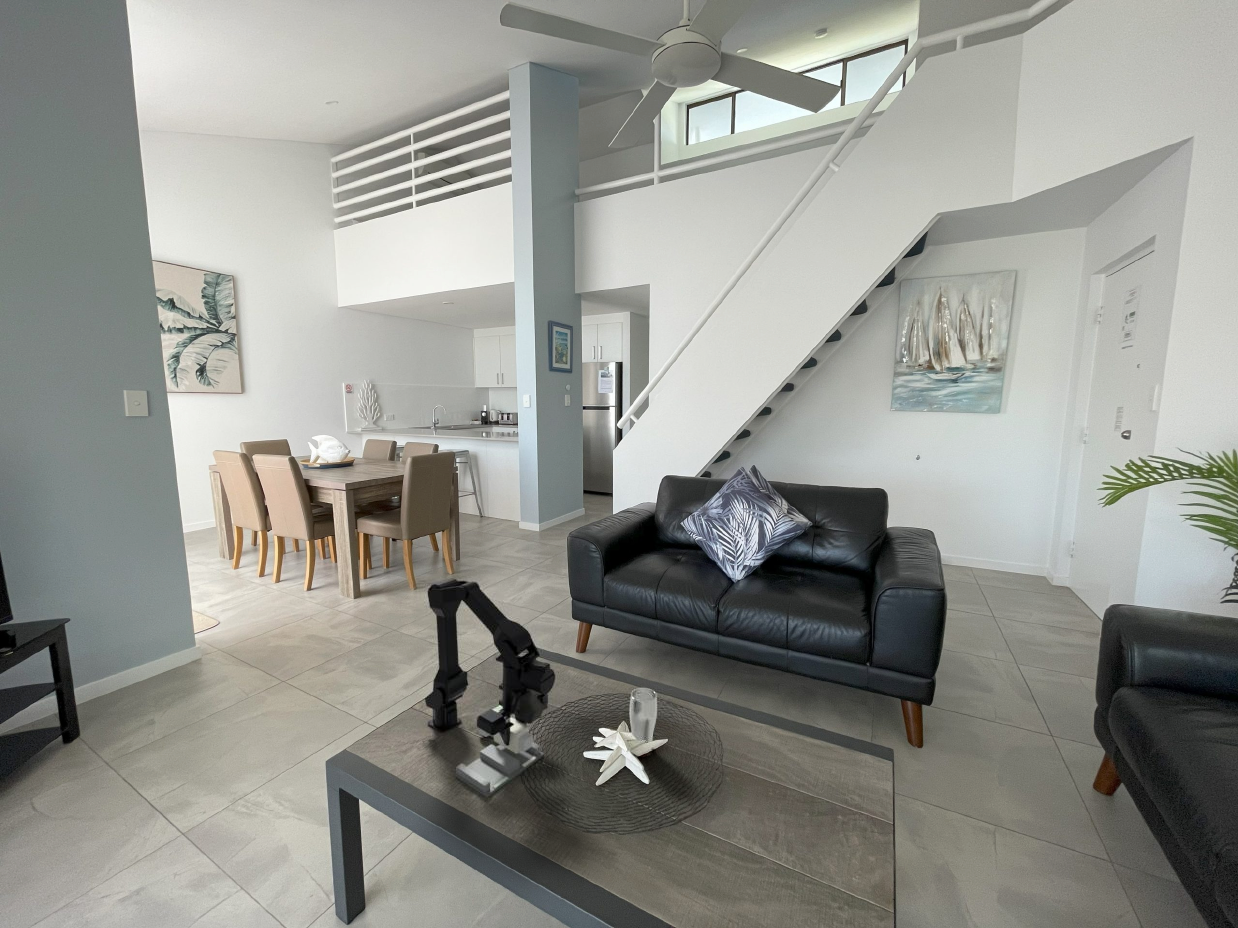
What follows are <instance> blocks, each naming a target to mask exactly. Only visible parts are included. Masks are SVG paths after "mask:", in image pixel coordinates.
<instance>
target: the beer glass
mask: <svg viewBox="0 0 1238 928" xmlns="http://www.w3.org/2000/svg"><path fill="white" fill-rule="evenodd" d="M629 700H630V701H629V724H630V731H631V736H632V735H633V736H634V737H635V738H636V739H637V740H641V741H642V740H646V741H647V742H653V734H654V730H655V727H656V726H655V725H656V723H657V722H656V721H657V717H658V694H657V692H656V691H654V690H653V689H651V688H649V687H648V688H647V687H638V688H635V689H633V690H631V693H630V699H629ZM646 741H645V742H646Z"/></svg>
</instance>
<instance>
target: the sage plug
mask: <svg viewBox="0 0 1238 928" xmlns="http://www.w3.org/2000/svg"><path fill="white" fill-rule="evenodd" d="M491 709H492V710H494V711H496V712H499V710H501V709H502V706H500V705H499V704H498V706H496V707H494V708H491ZM511 717H512V718H514V719H515V714H513V715H511ZM478 734H480V735H481V736H483V737H485V738H487V737H492V738H493V739H494V735H490V734H488V733H487V732H485V731H483V730H482V729H480V728H478Z"/></svg>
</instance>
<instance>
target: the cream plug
mask: <svg viewBox="0 0 1238 928" xmlns="http://www.w3.org/2000/svg"><path fill="white" fill-rule="evenodd" d="M510 722H511V723H513V724H514V725H513V726H512V727H511V728H510V742H509V745H508V746H507V745H505V744H504V742H503V739H502V737H501V735H500V733H497V734H496V735H494V738H493V741H494V742H495V743H497V744H499V745H502V746H504V747H506V748H507V749H509V750H511V751H512V752H514V753H516V754H517V753H518V752H520V751H521V750H522V751H524V752H525V751H526V750H527V749H529V748H530V747H532V746H533V742H534V740H533V737H534V735H533V734H531V733H529V730H530V729H529V728H530V727H529V726H528V725H527V724H526V725H525V724H523V723H521V722H519V721H517V720H516V719H514V718H512V717H511V718H510Z"/></svg>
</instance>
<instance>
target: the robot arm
mask: <svg viewBox="0 0 1238 928" xmlns="http://www.w3.org/2000/svg"><path fill="white" fill-rule="evenodd" d="M480 587H481V586H480V585H479V583H478V582H477V581H468V580H457V578H454V577H452V578H451V577H450V578H448V579H444V580H442V581H439V582H436V583H432V584H431V585H430V586H429V588H428V589H427V599H428V605H429V608H430V610H431V611H432V612H433V613H434V615H435V617H436V634H437V651H438V652H437V653H438V669H437V672H436V674H435V676H434V679H433V685H432V686H433V687H432V691H431V692H430V693H429V694H428V695H427V696H425V698H424V701H425V706H426V707H427V708H429V709H432V718H431V719H430V720H428V721H427V725H428V726H430V727H431V728H433V729H435V730H436V731H439V733H440V734H441V733H444V732H447V731H448V730H450V729H451V728H454V727H455V726H457V725H459V724H460V723H462V719H461V718H459V717H458V703H457V700H459V699H460V698H463V696H464V693H465V692H467V689H468V686H469V685H470V684H469V682H468V672H467V671H466V670H463V669H462V666H460V663H459V648H458V647H459V644H458V626H457V624H458V623H457V612H458V609H459V607H460V605H461V603H462V602H463V603H464V604H465V605H466V606H467V607H468V609H469V610H471V612H472V613H473V614H474V615H475V616H476V617H477V618H478V619H479V621H480V622H481V623H482V624H483V625H484V627H485V628H486V629H487V630H488V631H489V632H490V633H491V635H492V639H493V643H494V644H493V645H494V646H495V647H496V649H497V651H498V652H499V653H500V655H498V656H497V657H495V661H496V662H499V663H501V664H502V682H501V683H500V684H498V689H499V690H500V691H502V692H501V693H502V697H501V699H499V700H498V706H499V705H500V706H502V709H501V710H499V712H496V711H494V710H492V709H493V708H490V709H488V710H487V711H485V712H483V713H481V714H479V715H478V716H477V717H476V727H477V728H478V729H479V728H480V729H482V730H483V731H485V732H487V733H488V734H490V735H496V734H497V733H500V735H501V737H502V739H503V742H504V744H505V745H507V746H508V745H509V742H510V728H511V727H512V726H513V725H514V724H513V723H511V722H510V718H511V715H513V714H515V719H516V720H517V721H519V722H521V723H523V724H525V725H527V724H528V725H529V724H531V725H532V724H533V723H534V722H535V721H536V720H538V719H540V718H542V715H543V712H544V711H546V710H547V709H548V704H549V693H550V692H551V690H553V688H554V685H555V681H556V674H555V670H554V669H553V668H551V664H550V663H547V662H543V661H540V660H537V658H539V657H540V655H541V654H540V653H539V650H538V647H537V646H536V644H535V642H534V641H533V639H532V635H531V633H530V632H529V631H528V629H527V628H525V627H524V626H523V625H521V624H520V623H519V622H517V621H513V620H511V619H509V618H508V617H506V615H505V614H504V613H503V612H502V611H501V610H500V609H499V608H498V606H496V604H494V602H493V601H492V600H491V599H490V598H489V597H488V596H487V595H486V594H485V593H484V591H483V590H482V589H481V588H480ZM526 651H527V653H526V654H524V655H522V656H521V654H523V653H524V652H526ZM490 735H489V736H490Z"/></svg>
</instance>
